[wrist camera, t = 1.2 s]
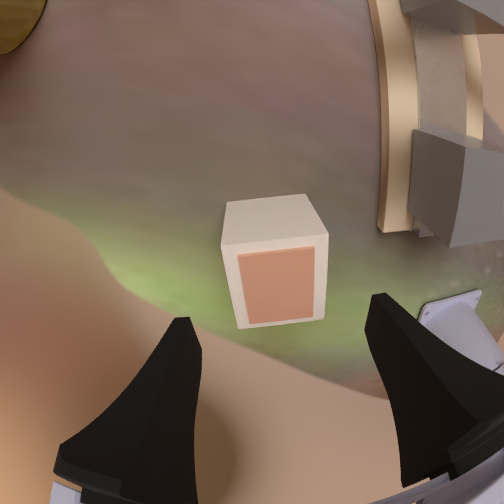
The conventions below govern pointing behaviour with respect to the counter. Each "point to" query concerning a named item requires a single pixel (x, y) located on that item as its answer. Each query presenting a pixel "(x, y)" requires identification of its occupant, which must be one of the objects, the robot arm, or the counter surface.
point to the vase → (17, 21)
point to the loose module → (275, 260)
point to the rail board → (437, 121)
